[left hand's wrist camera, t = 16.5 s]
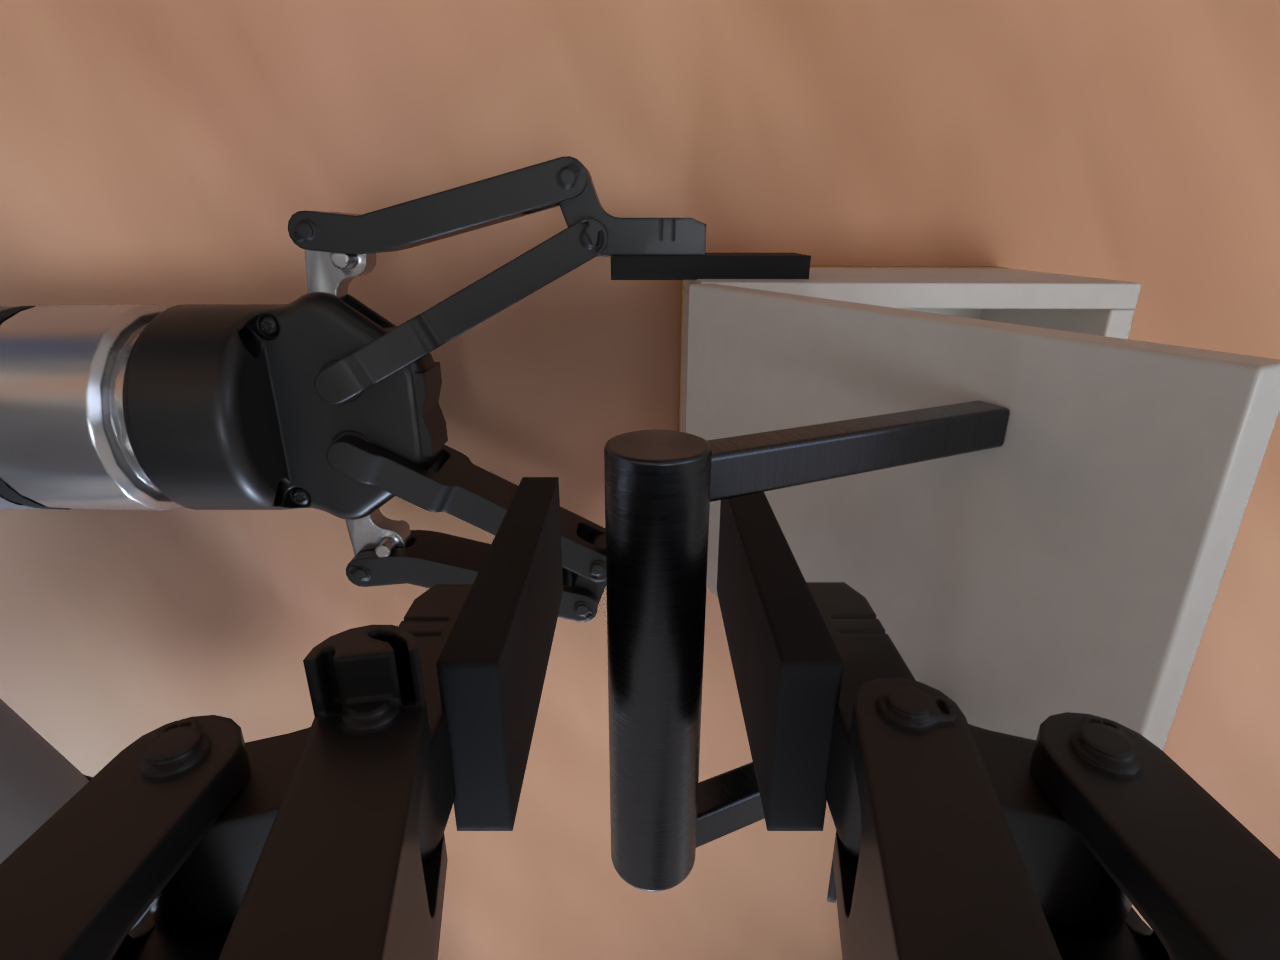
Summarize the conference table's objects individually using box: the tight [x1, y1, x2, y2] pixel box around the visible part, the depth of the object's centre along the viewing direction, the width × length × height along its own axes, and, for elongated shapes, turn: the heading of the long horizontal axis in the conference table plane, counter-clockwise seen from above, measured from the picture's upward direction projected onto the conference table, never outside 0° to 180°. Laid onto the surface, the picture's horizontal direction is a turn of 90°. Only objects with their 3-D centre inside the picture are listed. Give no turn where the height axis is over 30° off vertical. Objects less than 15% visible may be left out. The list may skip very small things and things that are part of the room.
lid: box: [604, 283, 1280, 891], centre depth 15 cm, size 14×10×8 cm
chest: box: [679, 267, 1141, 432], centre depth 27 cm, size 14×10×9 cm
